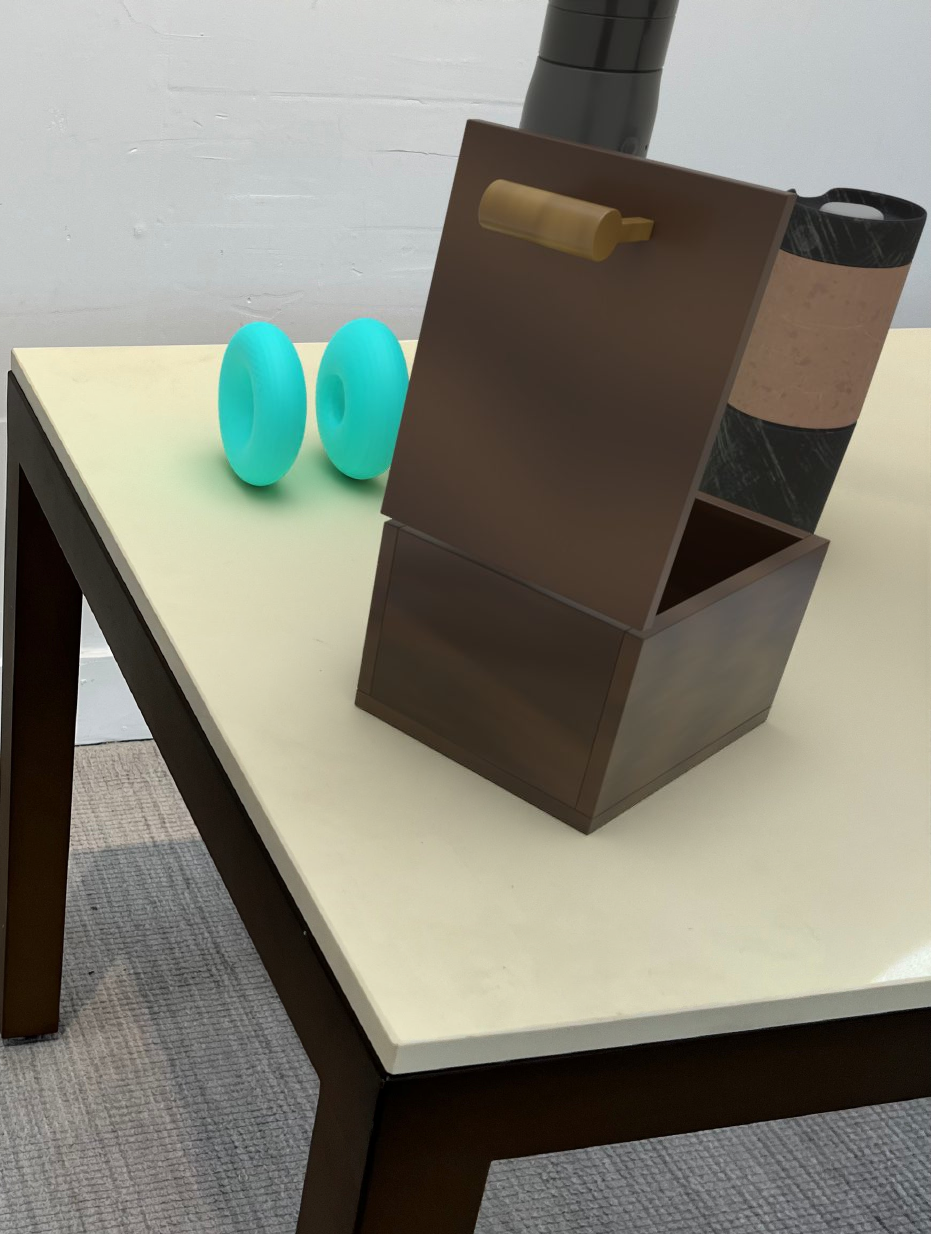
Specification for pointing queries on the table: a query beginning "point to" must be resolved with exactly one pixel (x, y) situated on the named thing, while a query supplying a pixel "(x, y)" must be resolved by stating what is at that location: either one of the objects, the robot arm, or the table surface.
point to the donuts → (345, 400)
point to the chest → (586, 661)
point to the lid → (578, 360)
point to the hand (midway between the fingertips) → (523, 414)
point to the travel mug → (813, 353)
